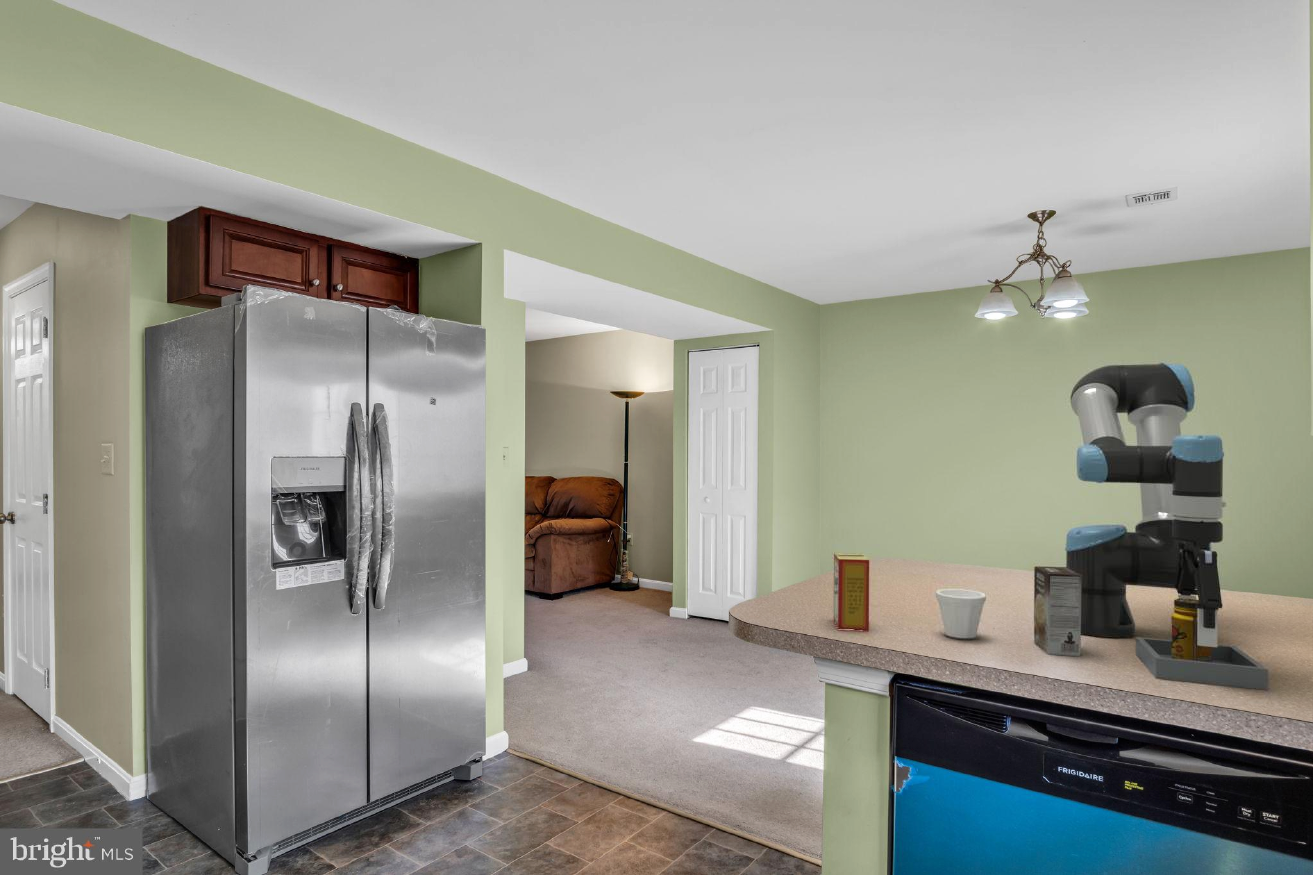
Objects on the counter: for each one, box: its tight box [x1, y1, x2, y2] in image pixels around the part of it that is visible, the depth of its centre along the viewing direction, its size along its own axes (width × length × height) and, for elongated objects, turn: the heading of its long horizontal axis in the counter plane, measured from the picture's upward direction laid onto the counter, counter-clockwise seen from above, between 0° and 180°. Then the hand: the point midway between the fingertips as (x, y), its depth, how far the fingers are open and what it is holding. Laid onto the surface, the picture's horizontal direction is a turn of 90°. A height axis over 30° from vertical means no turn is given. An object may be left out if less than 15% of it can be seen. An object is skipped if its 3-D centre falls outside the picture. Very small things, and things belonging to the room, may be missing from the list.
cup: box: [935, 588, 987, 641], centre depth 159 cm, size 10×10×9 cm
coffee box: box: [1033, 566, 1082, 657], centre depth 150 cm, size 9×6×16 cm
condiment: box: [1170, 598, 1212, 662], centre depth 136 cm, size 7×8×12 cm
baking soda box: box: [833, 552, 870, 632], centre depth 168 cm, size 10×6×16 cm
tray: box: [1135, 636, 1269, 691], centre depth 136 cm, size 16×16×4 cm
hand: (1196, 637), depth 136 cm, fingers open, 12 cm apart
